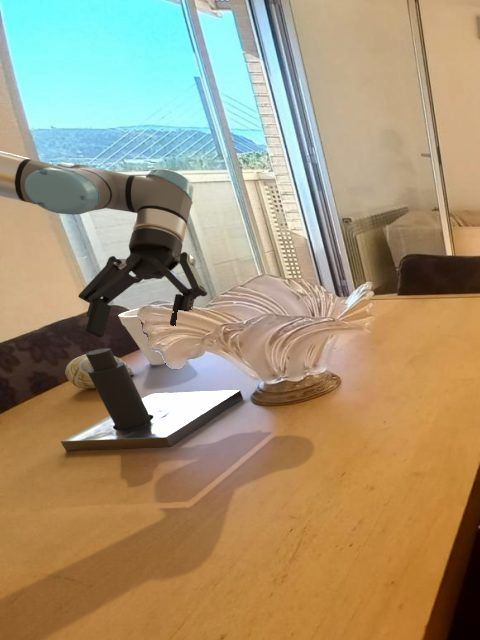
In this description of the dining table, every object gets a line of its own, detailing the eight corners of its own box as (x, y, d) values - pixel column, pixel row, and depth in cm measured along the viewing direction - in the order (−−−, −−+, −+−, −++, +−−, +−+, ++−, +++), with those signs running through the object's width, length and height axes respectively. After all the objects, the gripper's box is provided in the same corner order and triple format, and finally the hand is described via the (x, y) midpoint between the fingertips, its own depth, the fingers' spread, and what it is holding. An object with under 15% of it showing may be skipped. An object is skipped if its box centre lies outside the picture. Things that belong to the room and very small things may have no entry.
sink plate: (65, 451, 82) (60, 441, 81) (156, 401, 99) (152, 393, 98) (170, 447, 82) (166, 437, 82) (243, 398, 99) (240, 390, 98)
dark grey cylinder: (113, 438, 85) (70, 357, 79) (136, 425, 90) (97, 347, 83) (139, 437, 86) (98, 356, 79) (161, 424, 90) (124, 346, 83)
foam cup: (189, 350, 126) (169, 303, 121) (192, 359, 120) (172, 310, 115) (141, 360, 120) (118, 311, 115) (142, 370, 114) (118, 319, 109)
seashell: (125, 365, 115) (117, 334, 110) (142, 390, 112) (134, 359, 107) (64, 379, 107) (51, 346, 102) (80, 406, 105) (68, 373, 99)
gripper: (237, 244, 102) (223, 333, 95) (104, 252, 98) (78, 345, 91) (214, 222, 95) (196, 315, 88) (69, 229, 91) (38, 327, 84)
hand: (136, 330), depth 89 cm, fingers open, 13 cm apart
